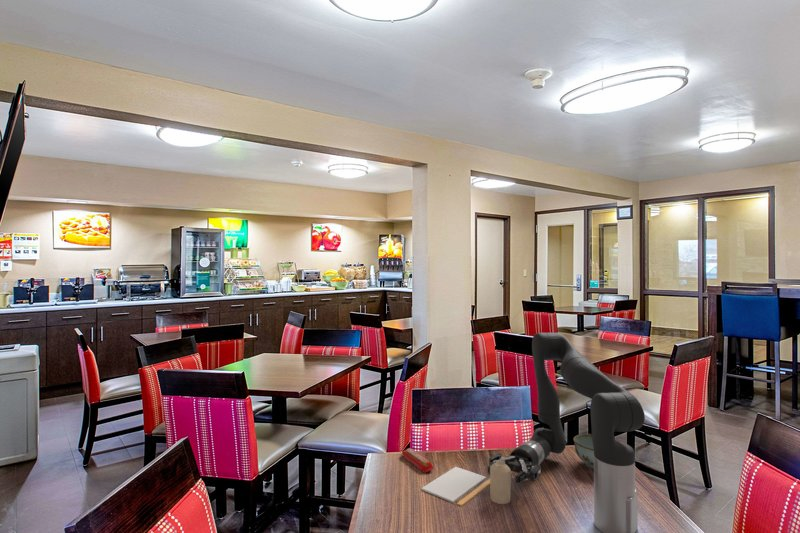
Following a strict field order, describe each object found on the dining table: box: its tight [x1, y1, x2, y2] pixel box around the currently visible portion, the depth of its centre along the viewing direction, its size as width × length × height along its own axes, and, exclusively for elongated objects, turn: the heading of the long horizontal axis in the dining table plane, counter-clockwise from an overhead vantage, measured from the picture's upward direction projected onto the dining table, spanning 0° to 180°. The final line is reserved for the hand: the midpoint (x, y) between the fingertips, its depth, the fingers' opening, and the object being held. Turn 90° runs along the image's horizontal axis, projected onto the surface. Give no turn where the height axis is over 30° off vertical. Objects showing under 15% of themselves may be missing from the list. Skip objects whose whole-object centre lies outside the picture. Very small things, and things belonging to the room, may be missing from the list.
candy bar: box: [401, 447, 434, 474], centre depth 147 cm, size 16×4×3 cm, turn 29°
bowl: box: [573, 433, 594, 471], centre depth 144 cm, size 14×13×8 cm
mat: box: [421, 466, 487, 504], centre depth 133 cm, size 11×18×1 cm, turn 140°
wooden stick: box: [456, 478, 490, 507], centre depth 128 cm, size 2×18×1 cm, turn 140°
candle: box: [489, 461, 512, 505], centre depth 124 cm, size 6×6×10 cm
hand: (502, 475), depth 126 cm, fingers open, 8 cm apart
